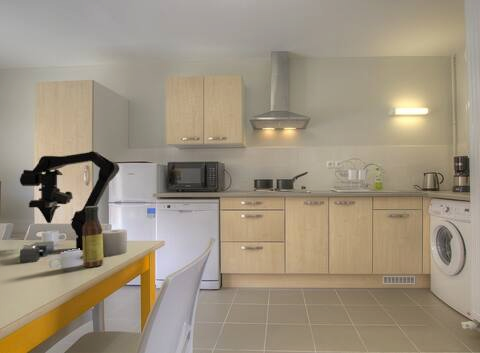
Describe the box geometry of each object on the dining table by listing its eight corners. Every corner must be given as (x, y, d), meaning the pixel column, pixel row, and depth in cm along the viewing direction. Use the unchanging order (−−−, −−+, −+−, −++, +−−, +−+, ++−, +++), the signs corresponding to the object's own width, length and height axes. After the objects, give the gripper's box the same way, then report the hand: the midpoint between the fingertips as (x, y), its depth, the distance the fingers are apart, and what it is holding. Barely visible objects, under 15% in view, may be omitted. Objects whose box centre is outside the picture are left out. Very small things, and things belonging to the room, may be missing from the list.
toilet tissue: (92, 258, 113) (92, 235, 114) (107, 250, 127) (107, 229, 127) (117, 258, 114) (117, 234, 114) (129, 250, 127) (129, 229, 127)
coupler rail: (49, 252, 123) (49, 239, 123) (35, 262, 109) (35, 247, 109) (35, 253, 122) (35, 240, 122) (19, 263, 108) (19, 248, 108)
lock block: (53, 251, 126) (53, 241, 126) (46, 256, 117) (46, 245, 117) (36, 252, 124) (36, 242, 124) (27, 257, 116) (27, 246, 116)
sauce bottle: (107, 263, 106) (107, 206, 106) (93, 268, 100) (93, 207, 100) (92, 262, 108) (92, 205, 108) (77, 267, 102) (77, 207, 103)
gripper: (57, 186, 122) (57, 225, 121) (78, 185, 140) (78, 219, 140) (28, 186, 121) (27, 226, 121) (53, 185, 139) (53, 220, 139)
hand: (49, 222), depth 130 cm, fingers closed
